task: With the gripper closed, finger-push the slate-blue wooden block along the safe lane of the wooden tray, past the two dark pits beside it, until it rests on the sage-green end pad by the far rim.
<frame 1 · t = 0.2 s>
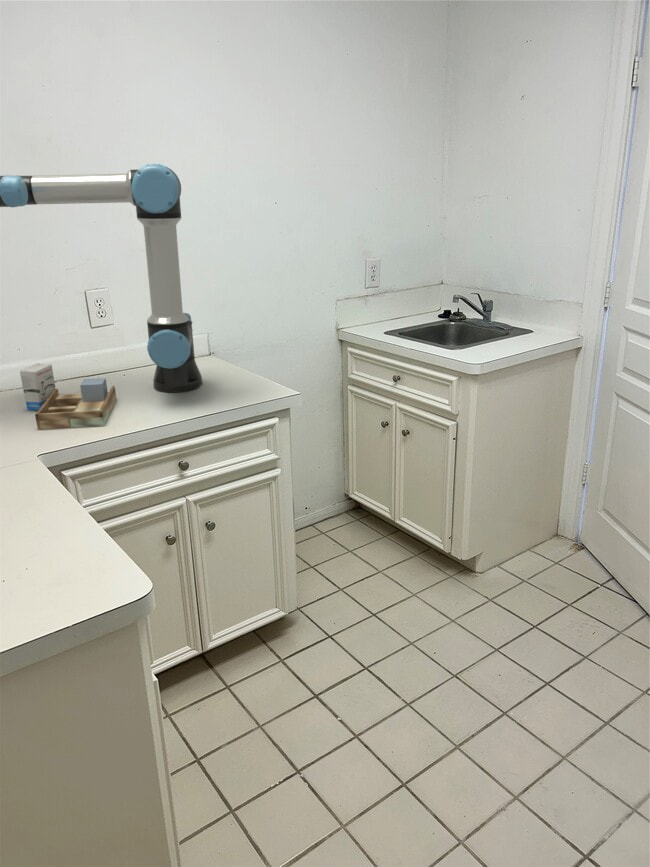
ink box: (43, 406, 187), on the worktop
wooden tray: (79, 413, 181), on the worktop
block: (95, 398, 186), point 2 cm above the worktop, touching wooden tray
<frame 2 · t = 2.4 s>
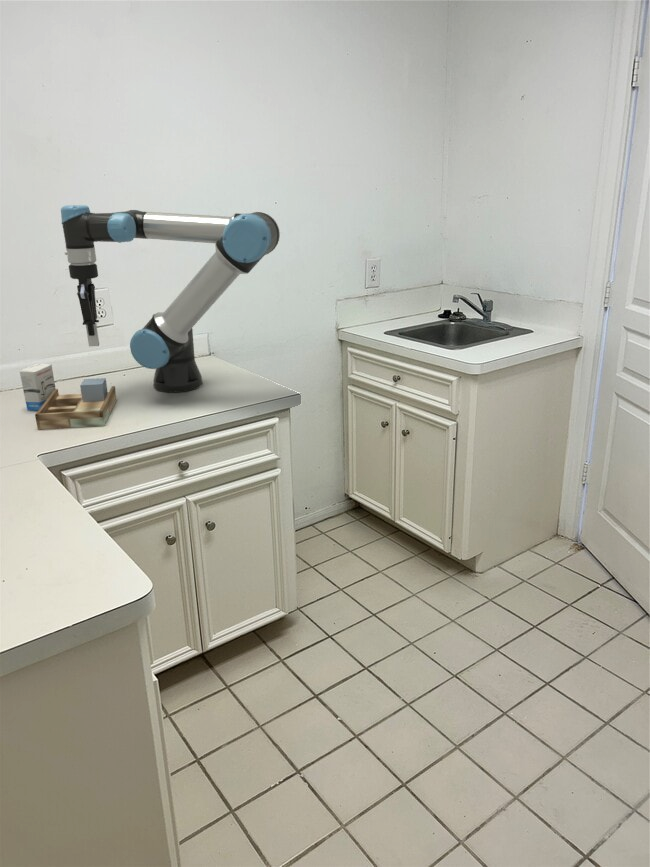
hand: (94, 345, 189), 16 cm above the worktop, fingers closed
nothing on the worktop moved.
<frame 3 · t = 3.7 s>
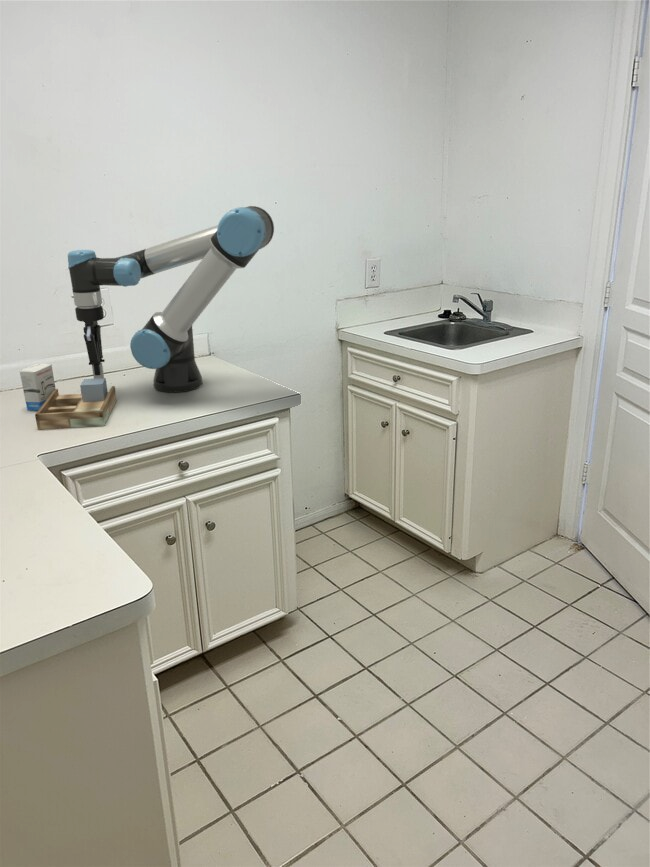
hand: (99, 384, 193), 4 cm above the worktop, fingers closed
nothing on the worktop moved.
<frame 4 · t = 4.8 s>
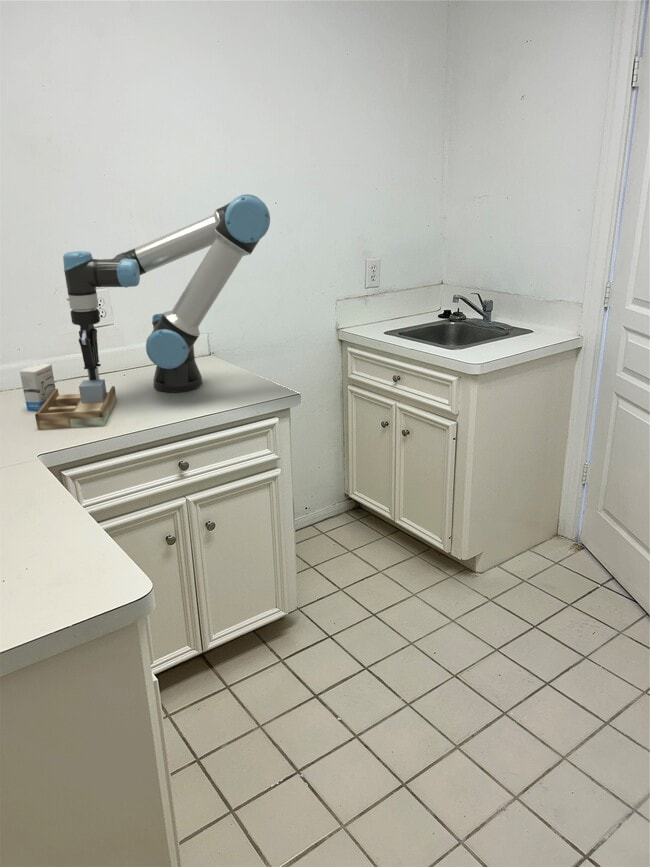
hand: (95, 389, 188), 4 cm above the worktop, fingers closed
block: (94, 399, 185), point 2 cm above the worktop
everything else where it was.
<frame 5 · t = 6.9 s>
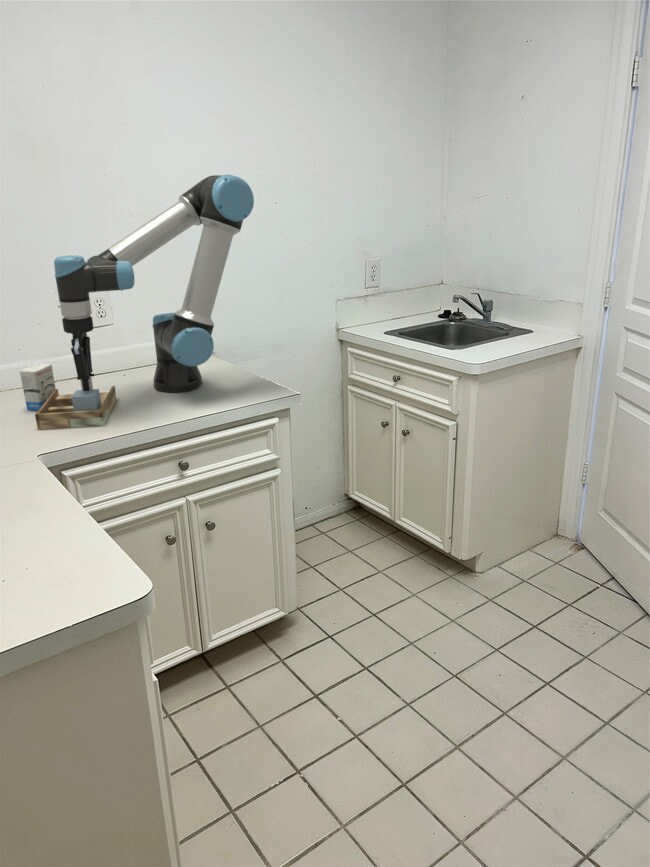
hand: (89, 400, 179), 4 cm above the worktop, fingers closed
block: (88, 410, 176), point 2 cm above the worktop, touching gripper, wooden tray
everything else where it was.
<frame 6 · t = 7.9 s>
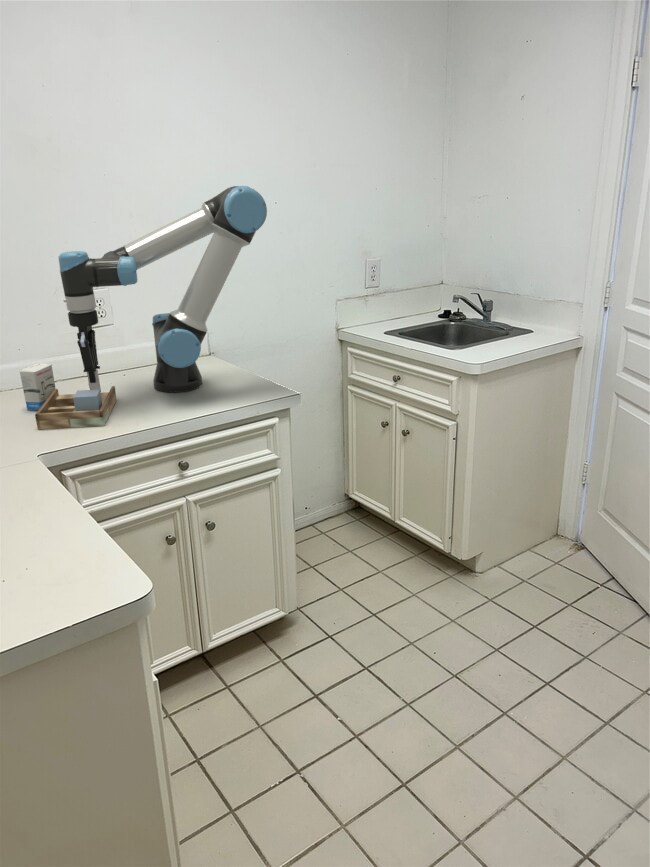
hand: (95, 392, 184), 4 cm above the worktop, fingers closed
block: (89, 410, 176), point 2 cm above the worktop, touching wooden tray
everything else where it was.
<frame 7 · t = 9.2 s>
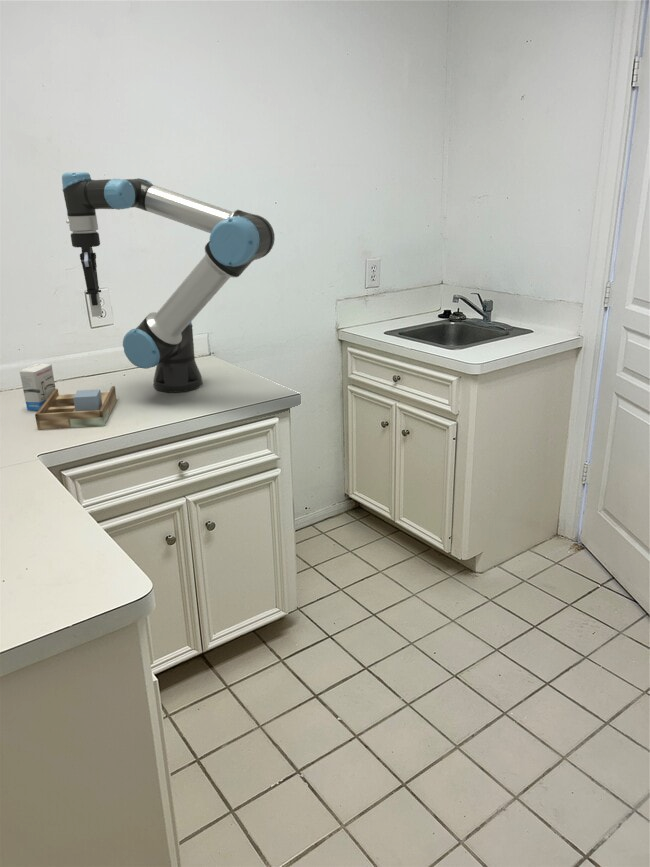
hand: (97, 315, 188), 24 cm above the worktop, fingers closed
nothing on the worktop moved.
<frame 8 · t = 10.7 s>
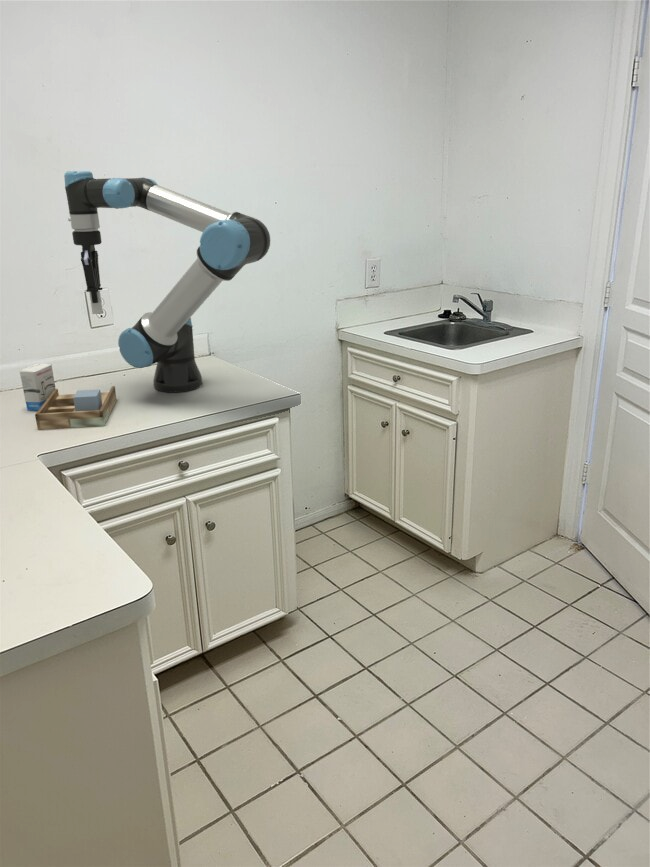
hand: (97, 313, 190), 24 cm above the worktop, fingers closed
nothing on the worktop moved.
at the end: block inside the target area on the wooden tray (1.5 cm from its centre), point 2.4 cm above the wooden tray's base; block tilted 0° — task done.
